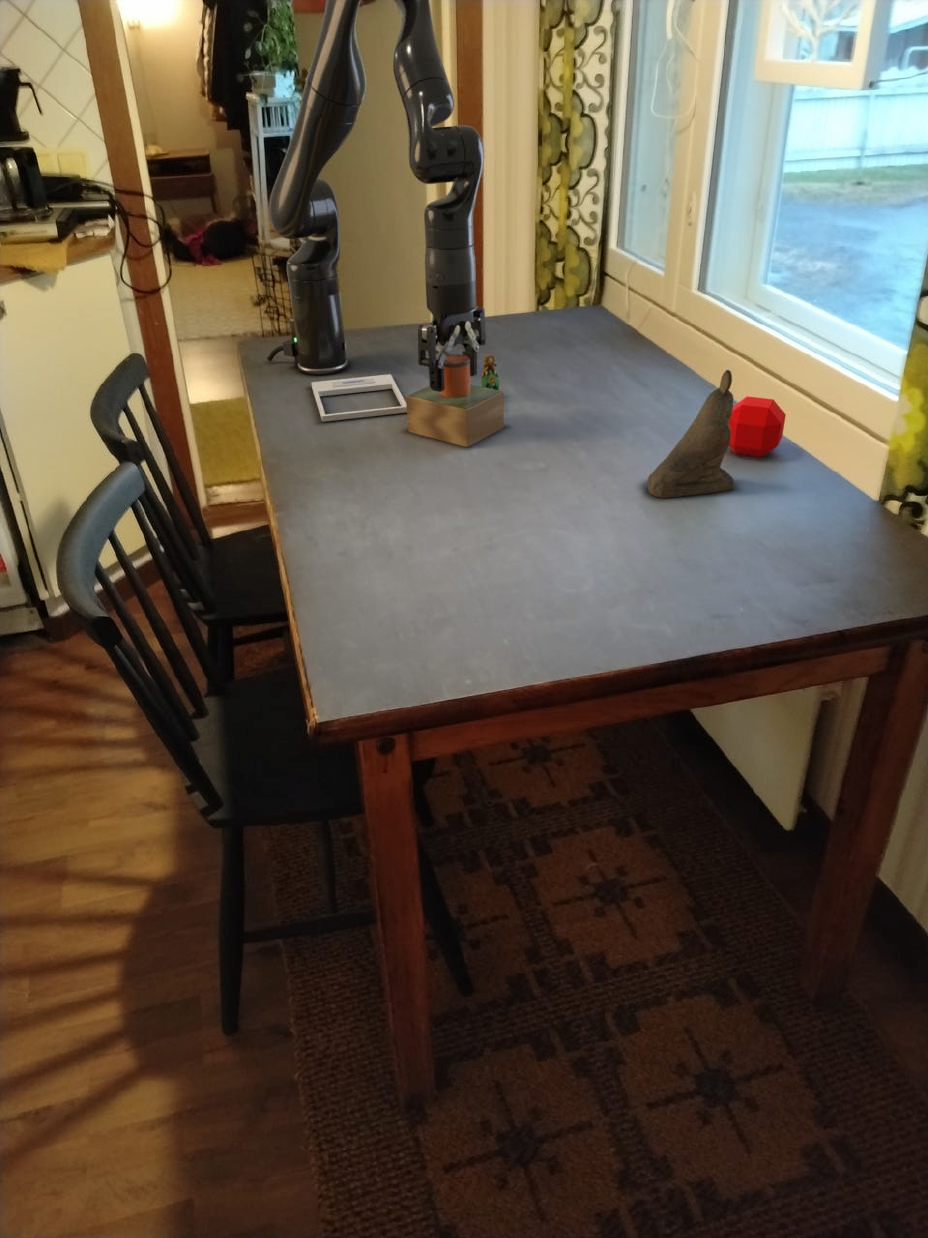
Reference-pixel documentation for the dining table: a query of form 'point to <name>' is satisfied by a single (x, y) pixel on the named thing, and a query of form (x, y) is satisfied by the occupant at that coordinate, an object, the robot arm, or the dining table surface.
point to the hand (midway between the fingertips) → (454, 382)
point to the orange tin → (456, 376)
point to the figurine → (490, 374)
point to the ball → (756, 426)
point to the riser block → (456, 415)
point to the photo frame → (352, 387)
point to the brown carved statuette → (699, 451)
